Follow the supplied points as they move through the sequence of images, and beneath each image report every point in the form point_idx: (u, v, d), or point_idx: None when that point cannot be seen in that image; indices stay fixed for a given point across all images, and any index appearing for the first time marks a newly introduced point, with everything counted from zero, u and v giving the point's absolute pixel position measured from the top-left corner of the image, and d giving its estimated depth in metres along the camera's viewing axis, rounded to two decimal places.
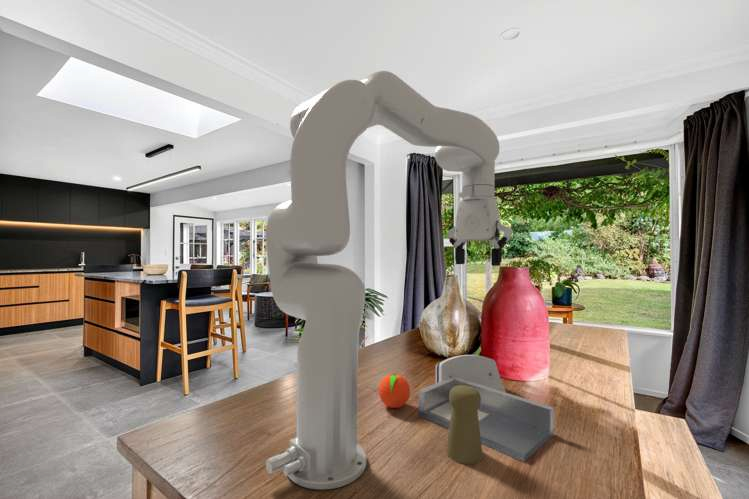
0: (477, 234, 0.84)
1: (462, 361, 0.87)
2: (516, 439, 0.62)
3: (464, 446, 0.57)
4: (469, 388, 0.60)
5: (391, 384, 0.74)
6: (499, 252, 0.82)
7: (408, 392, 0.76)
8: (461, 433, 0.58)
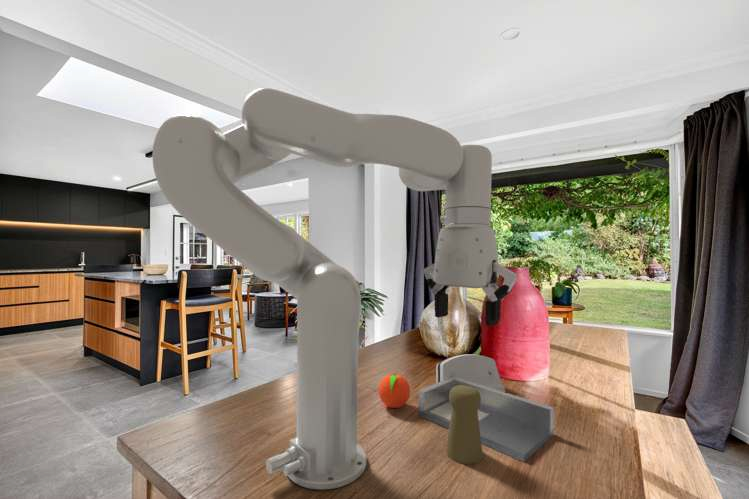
0: (465, 279, 0.58)
1: (463, 360, 0.87)
2: (516, 439, 0.62)
3: (464, 446, 0.57)
4: (469, 388, 0.60)
5: (391, 384, 0.74)
6: (497, 306, 0.56)
7: (408, 392, 0.76)
8: (461, 433, 0.58)
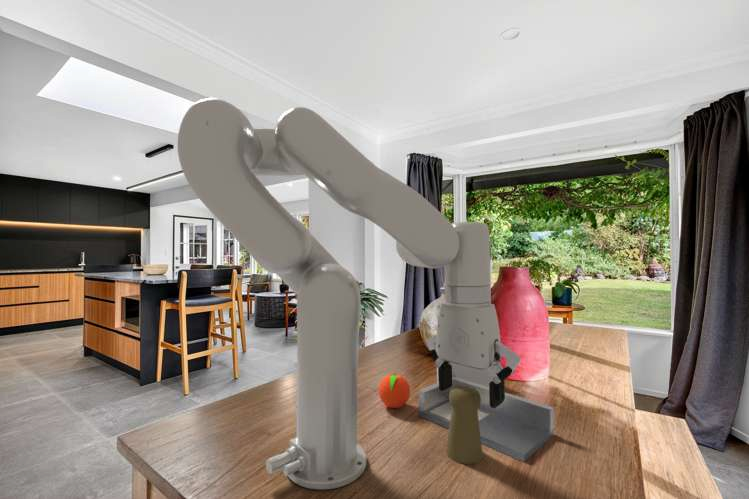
0: (467, 359, 0.57)
1: None
2: (516, 439, 0.62)
3: (464, 446, 0.57)
4: (469, 388, 0.60)
5: (391, 384, 0.74)
6: (501, 387, 0.56)
7: (408, 392, 0.76)
8: (461, 433, 0.58)
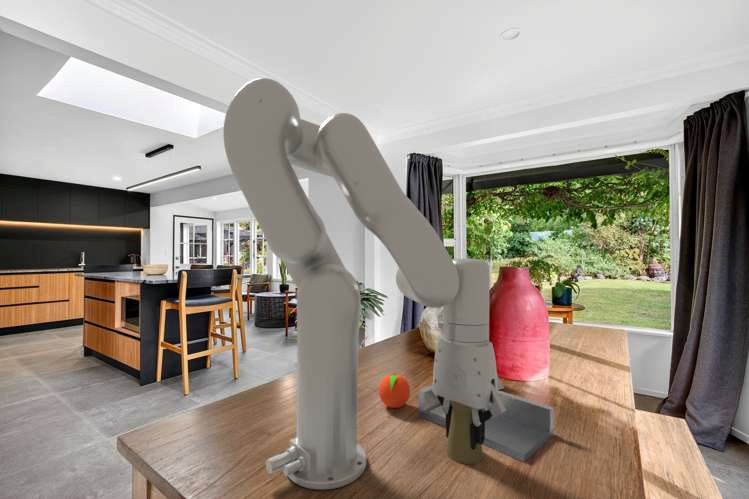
0: (463, 397, 0.57)
1: None
2: (516, 439, 0.62)
3: (465, 446, 0.57)
4: None
5: (391, 384, 0.74)
6: (481, 429, 0.57)
7: (408, 392, 0.76)
8: (461, 432, 0.58)
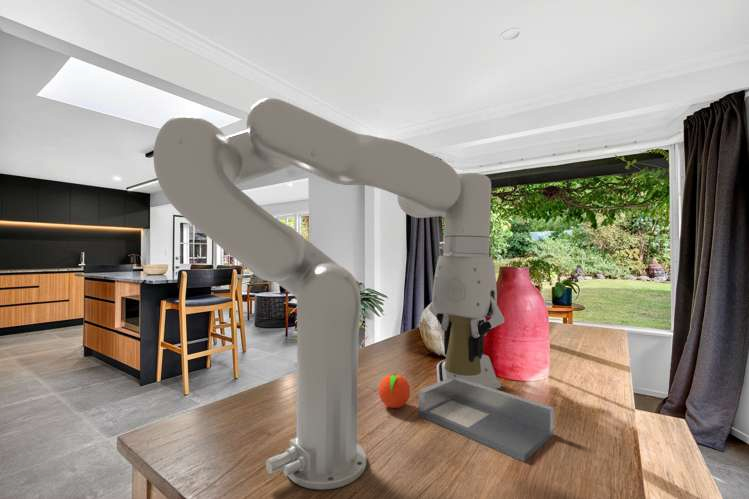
0: (463, 309, 0.57)
1: None
2: (516, 439, 0.62)
3: (463, 358, 0.57)
4: None
5: (391, 384, 0.74)
6: (479, 342, 0.57)
7: (408, 392, 0.76)
8: (459, 345, 0.58)
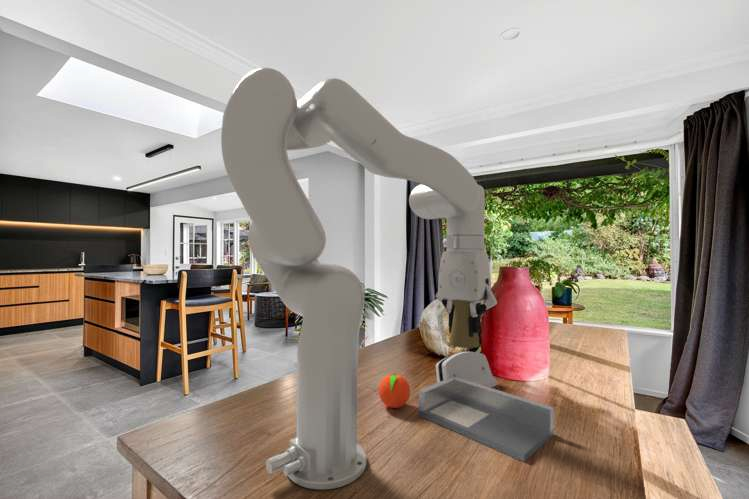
0: (463, 294, 0.70)
1: (461, 358, 0.89)
2: (516, 439, 0.62)
3: (464, 334, 0.71)
4: None
5: (391, 384, 0.74)
6: (477, 321, 0.71)
7: (408, 392, 0.76)
8: (461, 324, 0.71)
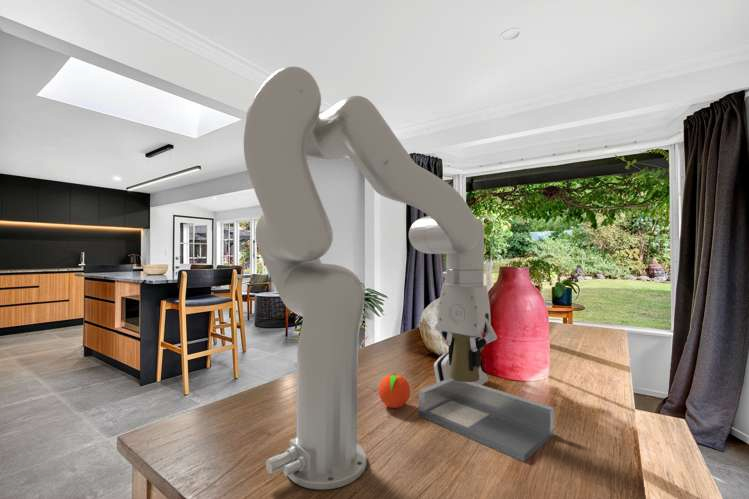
0: (463, 328, 0.70)
1: None
2: (516, 439, 0.62)
3: (464, 368, 0.71)
4: None
5: (391, 384, 0.74)
6: (477, 355, 0.71)
7: (408, 392, 0.76)
8: (461, 358, 0.71)
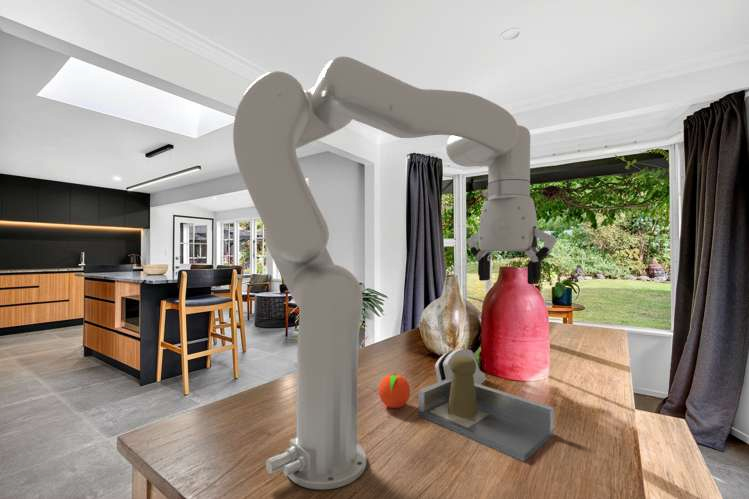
0: (508, 243, 0.65)
1: None
2: (516, 439, 0.62)
3: (463, 403, 0.71)
4: (466, 357, 0.73)
5: (391, 384, 0.74)
6: (538, 267, 0.64)
7: (408, 392, 0.76)
8: (459, 392, 0.71)
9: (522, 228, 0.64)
